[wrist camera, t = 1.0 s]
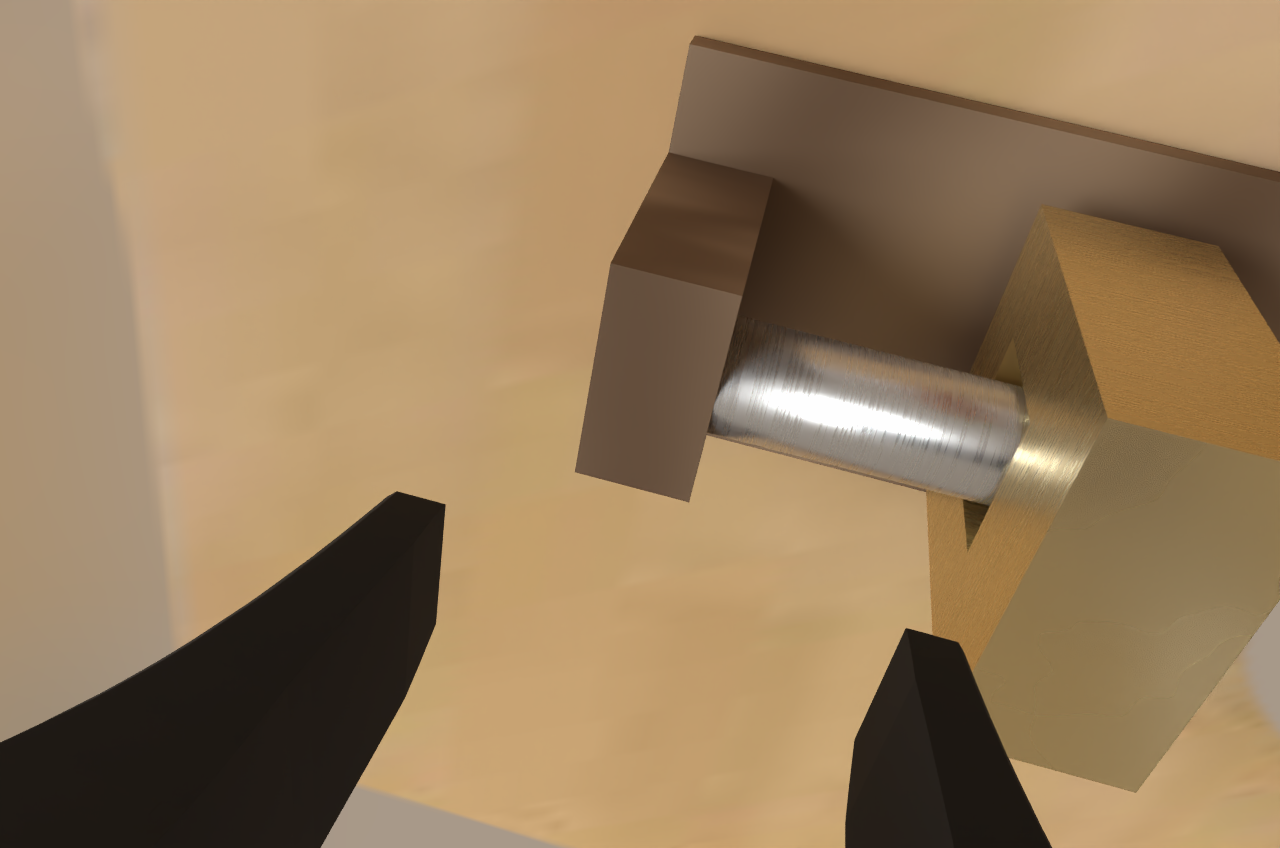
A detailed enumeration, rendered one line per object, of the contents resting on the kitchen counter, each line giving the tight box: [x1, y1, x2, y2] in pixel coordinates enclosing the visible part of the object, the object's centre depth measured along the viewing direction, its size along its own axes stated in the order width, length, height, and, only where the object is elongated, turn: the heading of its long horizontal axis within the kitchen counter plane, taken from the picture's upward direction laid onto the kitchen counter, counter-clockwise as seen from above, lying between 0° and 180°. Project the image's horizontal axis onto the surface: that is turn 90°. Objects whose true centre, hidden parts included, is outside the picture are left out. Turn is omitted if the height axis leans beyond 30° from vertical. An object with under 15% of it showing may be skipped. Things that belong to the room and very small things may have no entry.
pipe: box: [707, 315, 1030, 506], centre depth 17 cm, size 18×2×2 cm, turn 80°
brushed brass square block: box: [926, 204, 1280, 793], centre depth 17 cm, size 3×6×7 cm, turn 170°
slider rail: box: [575, 36, 1280, 502], centre depth 18 cm, size 18×8×6 cm, turn 80°
